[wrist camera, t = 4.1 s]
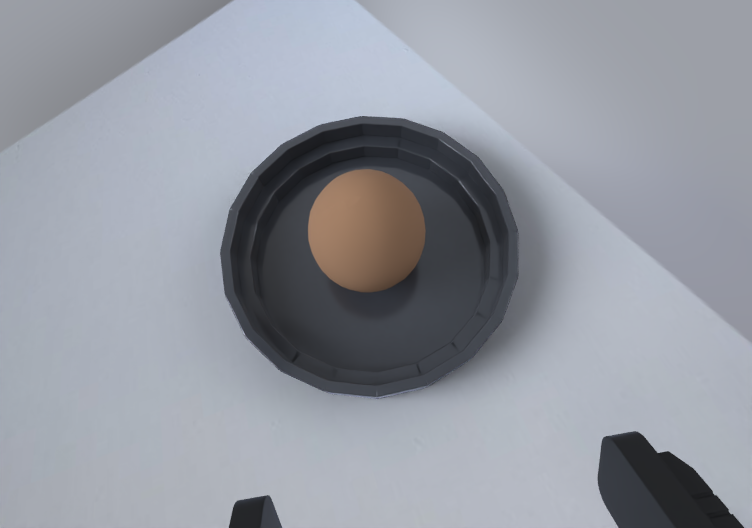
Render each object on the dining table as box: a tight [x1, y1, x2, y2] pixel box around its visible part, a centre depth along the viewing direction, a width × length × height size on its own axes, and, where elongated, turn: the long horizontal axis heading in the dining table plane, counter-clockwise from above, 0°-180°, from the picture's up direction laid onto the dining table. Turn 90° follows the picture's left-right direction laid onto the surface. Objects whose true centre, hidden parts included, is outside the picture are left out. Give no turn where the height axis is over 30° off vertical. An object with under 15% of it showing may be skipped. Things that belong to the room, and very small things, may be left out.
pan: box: [220, 116, 518, 399], centre depth 27 cm, size 17×17×3 cm
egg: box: [308, 169, 426, 292], centre depth 25 cm, size 6×6×8 cm
